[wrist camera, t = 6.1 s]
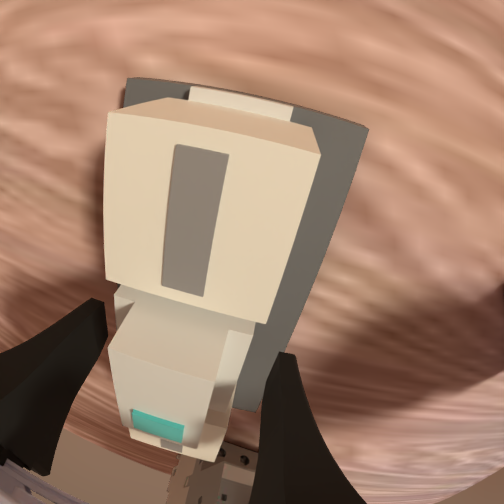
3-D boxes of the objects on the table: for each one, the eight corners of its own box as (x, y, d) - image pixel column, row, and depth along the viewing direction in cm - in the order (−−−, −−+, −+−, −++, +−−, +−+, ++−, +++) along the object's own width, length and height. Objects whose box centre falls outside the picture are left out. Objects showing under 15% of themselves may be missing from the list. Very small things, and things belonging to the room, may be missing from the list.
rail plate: (138, 77, 11) (47, 89, 6) (363, 125, 11) (412, 163, 6) (131, 365, 20) (101, 430, 16) (257, 400, 20) (246, 473, 16)
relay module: (158, 234, 13) (80, 343, 8) (265, 263, 13) (242, 395, 8) (153, 320, 15) (103, 422, 10) (239, 345, 15) (215, 458, 10)
